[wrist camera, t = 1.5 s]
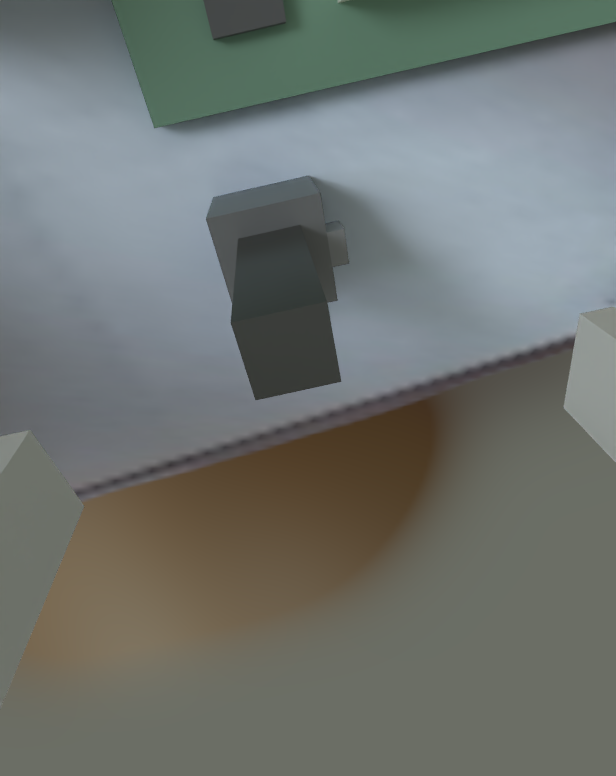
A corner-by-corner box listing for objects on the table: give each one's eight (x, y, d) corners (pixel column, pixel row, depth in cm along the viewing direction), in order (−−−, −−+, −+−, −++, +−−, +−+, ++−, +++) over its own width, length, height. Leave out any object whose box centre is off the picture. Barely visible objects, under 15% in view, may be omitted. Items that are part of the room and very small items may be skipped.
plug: (240, 288, 26) (231, 432, 15) (213, 197, 23) (179, 295, 12) (338, 266, 26) (401, 396, 15) (324, 171, 23) (389, 248, 12)
